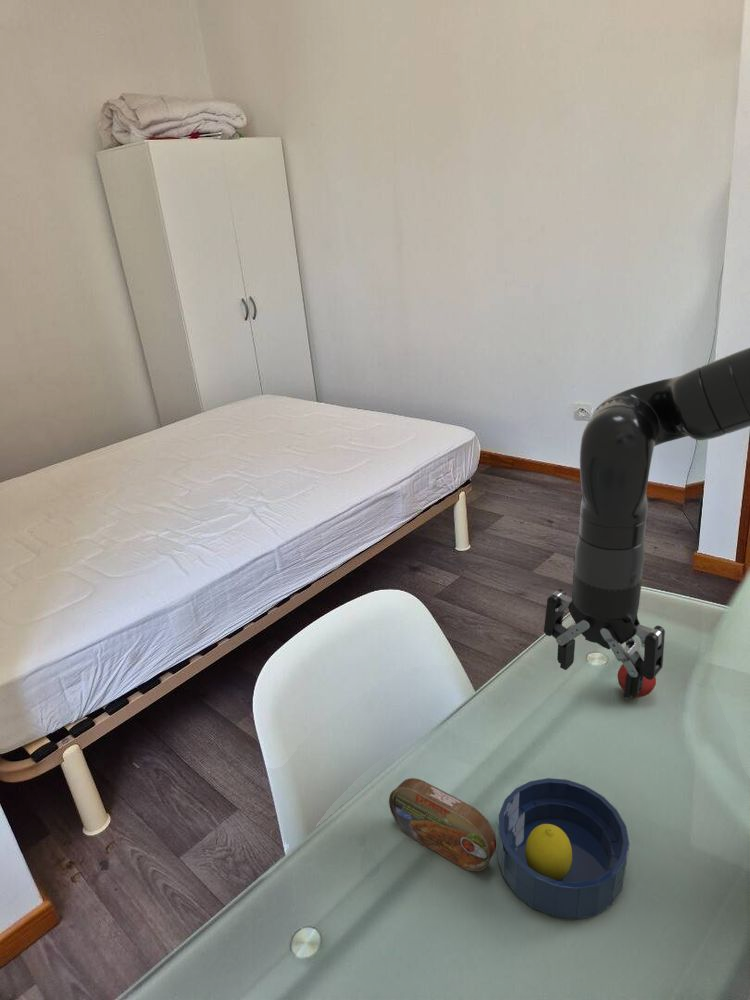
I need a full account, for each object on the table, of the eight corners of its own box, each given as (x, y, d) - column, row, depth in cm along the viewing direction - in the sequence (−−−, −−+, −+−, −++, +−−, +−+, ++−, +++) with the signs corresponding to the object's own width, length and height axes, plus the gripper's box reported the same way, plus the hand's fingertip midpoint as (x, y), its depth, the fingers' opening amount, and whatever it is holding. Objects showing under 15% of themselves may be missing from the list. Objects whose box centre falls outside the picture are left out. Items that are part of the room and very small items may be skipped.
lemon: (579, 878, 84) (584, 834, 81) (548, 905, 81) (551, 860, 78) (545, 846, 88) (548, 803, 85) (514, 870, 86) (516, 826, 82)
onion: (609, 686, 115) (613, 647, 111) (642, 681, 115) (648, 643, 112) (624, 710, 110) (629, 671, 106) (659, 706, 110) (665, 666, 107)
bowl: (646, 857, 87) (651, 825, 84) (582, 949, 77) (586, 915, 75) (540, 791, 97) (542, 759, 94) (473, 864, 87) (473, 832, 85)
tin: (389, 824, 93) (385, 780, 90) (402, 808, 96) (399, 764, 92) (487, 884, 85) (488, 837, 81) (499, 864, 87) (500, 818, 83)
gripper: (683, 575, 77) (666, 689, 84) (568, 538, 86) (561, 643, 93) (654, 606, 72) (639, 723, 79) (536, 563, 81) (531, 671, 88)
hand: (597, 680), depth 86 cm, fingers open, 8 cm apart
